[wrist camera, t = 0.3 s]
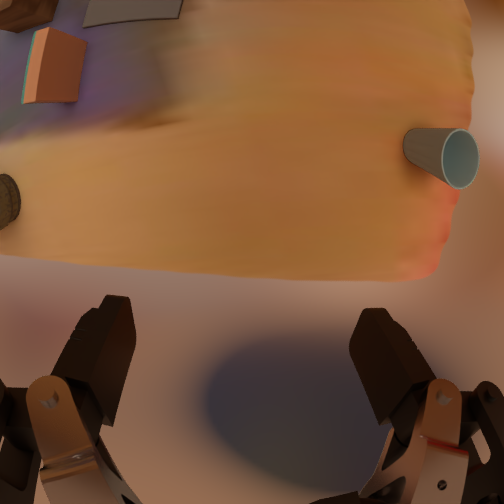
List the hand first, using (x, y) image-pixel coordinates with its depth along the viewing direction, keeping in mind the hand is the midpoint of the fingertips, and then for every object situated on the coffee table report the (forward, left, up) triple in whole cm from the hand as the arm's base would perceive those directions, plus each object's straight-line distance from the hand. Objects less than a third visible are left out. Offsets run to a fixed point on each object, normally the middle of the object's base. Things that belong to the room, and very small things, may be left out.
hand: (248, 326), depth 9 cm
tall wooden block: (-25, -35, -29) cm, 52 cm away
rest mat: (-26, -17, -29) cm, 42 cm away
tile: (-13, -24, -29) cm, 40 cm away
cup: (-9, +26, -29) cm, 40 cm away
